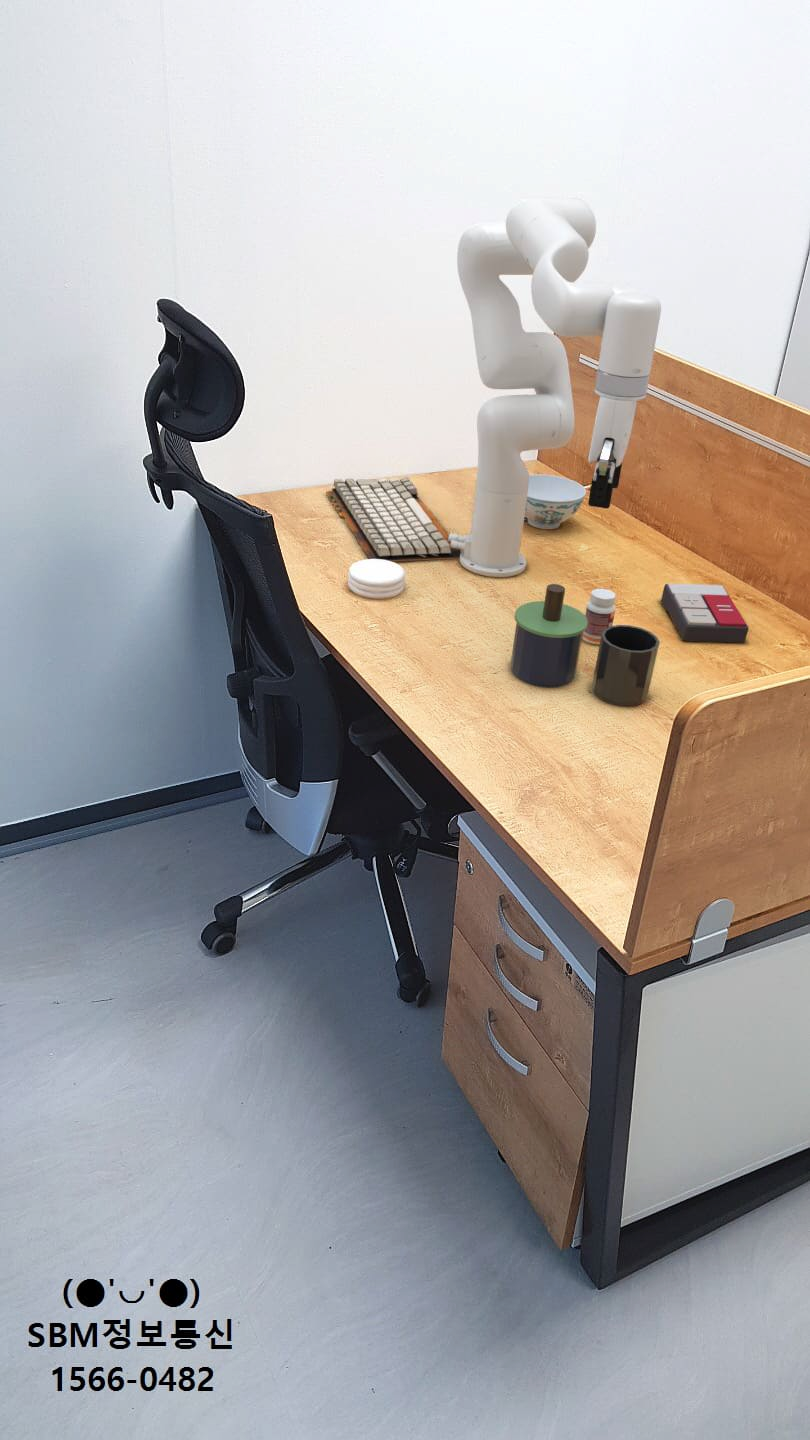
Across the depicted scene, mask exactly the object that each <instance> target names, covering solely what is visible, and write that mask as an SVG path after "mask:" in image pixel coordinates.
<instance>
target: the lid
mask: <svg viewBox="0 0 810 1440" xmlns="http://www.w3.org/2000/svg"><path fill="white" fill-rule="evenodd" d="M565 593H566V588H565V587H564V586H563V585H561V584H558V583H551V584H548V585H546V588H545V596H544V600H539V601H538V600H537V601H530V602H527V603H523V604H522V605H520V606H518V607H517V608H516V610H515V612H514V620H515V623H517V624H518V625H519V626H521V627H522V628H523V629H525V630H527V631H529V632H531V633H534V634H537V635H541V636H545V637H552V638H567V637H573V636H576V635H579V634H581V633H583V632H584V631H585V630H586V628H587V624H588V621H587V618H586V616H585V614H584V613H583V612H582V611H581V610H579V609H577V608H576V607H573V606H570V605H568V604H565V603H564V598H565V595H566V594H565Z"/></svg>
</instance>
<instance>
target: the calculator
mask: <svg viewBox="0 0 810 1440" xmlns="http://www.w3.org/2000/svg"><path fill="white" fill-rule="evenodd" d="M661 594H662V595H661V598H660V599H661V600H660V603H661V605H662V607H663V608H664V610H665V612H667V613H668V614H669V616H670V618H671V620H672V623H673V624H674V626H675V628H676V630H677V632H678V633H679V636H680V638H681V639H682V641H684V642H703V643H705V642H707V643H738V644H739V643H740V644H743V643H745V642H746V640H747V635H748V632H749V629H750V627H749V625H748V624H747V621H745V619H744V617H743V615H742V613H740V611H739V609H738V608H737V606H736V604H735V603H734V601H733V599H732V598H731V596H730V595H729V593H728V591H727V590H726V588H725V586H723V585H721V584H701V583H698V584H696V583H695V584H694V583H671V582H670V583H665V584H664V586H663V590H662V593H661Z"/></svg>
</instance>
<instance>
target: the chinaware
mask: <svg viewBox="0 0 810 1440" xmlns="http://www.w3.org/2000/svg"><path fill="white" fill-rule="evenodd" d="M586 495H587V490H586V488H585V487H584V485H582V484H580V483H579V482H577V481H575V480H573V479H570V478H567V477H563V476H560V475H553V474H538V473H537V474H529V485H528V494H527V501H526V508H525V516H524V518H526V519H527V523H528V524H529V525H530V526H532V527H534V528H538V529H542V530H554V529H558V528H559V527H560V526H561V523H562V524H563V523H564V522H565V521H567V520H569V519H571V518H572V517H573V516H574V515H575V514H576V513H577V512H578V511H579V509H580V508H581V506H582V504H583V503H584V500H585V498H586Z"/></svg>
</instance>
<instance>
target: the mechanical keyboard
mask: <svg viewBox="0 0 810 1440" xmlns="http://www.w3.org/2000/svg"><path fill="white" fill-rule="evenodd" d="M325 493H326V495H327V497H328V498H329V500H330V501H331V503H332V505H333V506H334V508H335V510H336V512H337V513H338V514H339V516H340V517H341V518H344V523H345V524H346V525H347V526H348V527H349V529H350V530H351V532H352V533H353V534H354V537H355V539H356V540H357V543H358V545H359V546H360V547H361V548H362V551H363V552H364V554H365V555H366V557H367V559H382V560H388V561H391V562H394V563H409V562H427V561H428V562H430V561H449V560H450V561H451V560H460V554H461V552H462V550H461V549H458V548H457V549H456V548H452V547H451V543H448V537H449V534H448V532H446V531H445V529H444V528H443V527H442V525H441V524H440V523H439V522H438V521H437V519H436V517H434V515H433V514H432V513H431V511H430V510H429V509H428V508H427V506H426V505H425V504H424V503H423V501H422V500H421V499H420V498H419V497H418V495H419V492H418V488H417V486H416V485H415V484H414V483H413V481H411V479H410V478H409V477H408V476H406V477H402V478H400V479H399V477H392V478H390V479H388V478H386V477H384V478H379V479H378V480H376V478H363V479H356V480H355V479H354V478H345V480H343V479H341V478H335V479H334V480H333V488H331V490H328V491H327V490H326V492H325Z"/></svg>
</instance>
